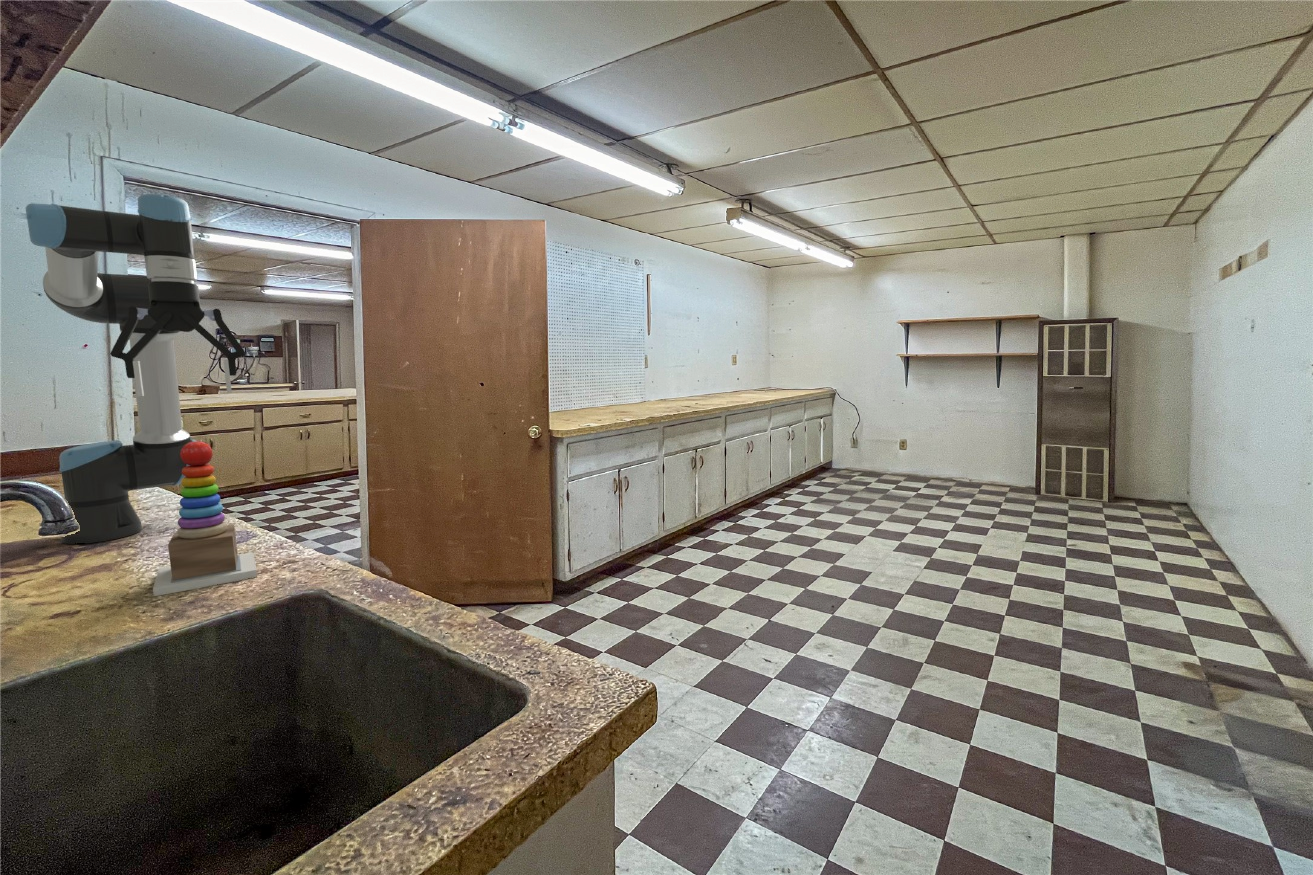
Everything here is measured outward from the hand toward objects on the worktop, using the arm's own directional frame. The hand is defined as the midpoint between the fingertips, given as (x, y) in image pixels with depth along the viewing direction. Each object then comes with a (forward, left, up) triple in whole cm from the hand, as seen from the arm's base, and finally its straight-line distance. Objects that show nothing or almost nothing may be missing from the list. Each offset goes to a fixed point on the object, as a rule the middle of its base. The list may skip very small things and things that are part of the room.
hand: (186, 394), depth 117 cm
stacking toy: (0, 0, -28) cm, 28 cm away
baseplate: (0, 0, -37) cm, 37 cm away
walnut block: (0, 0, -35) cm, 35 cm away
